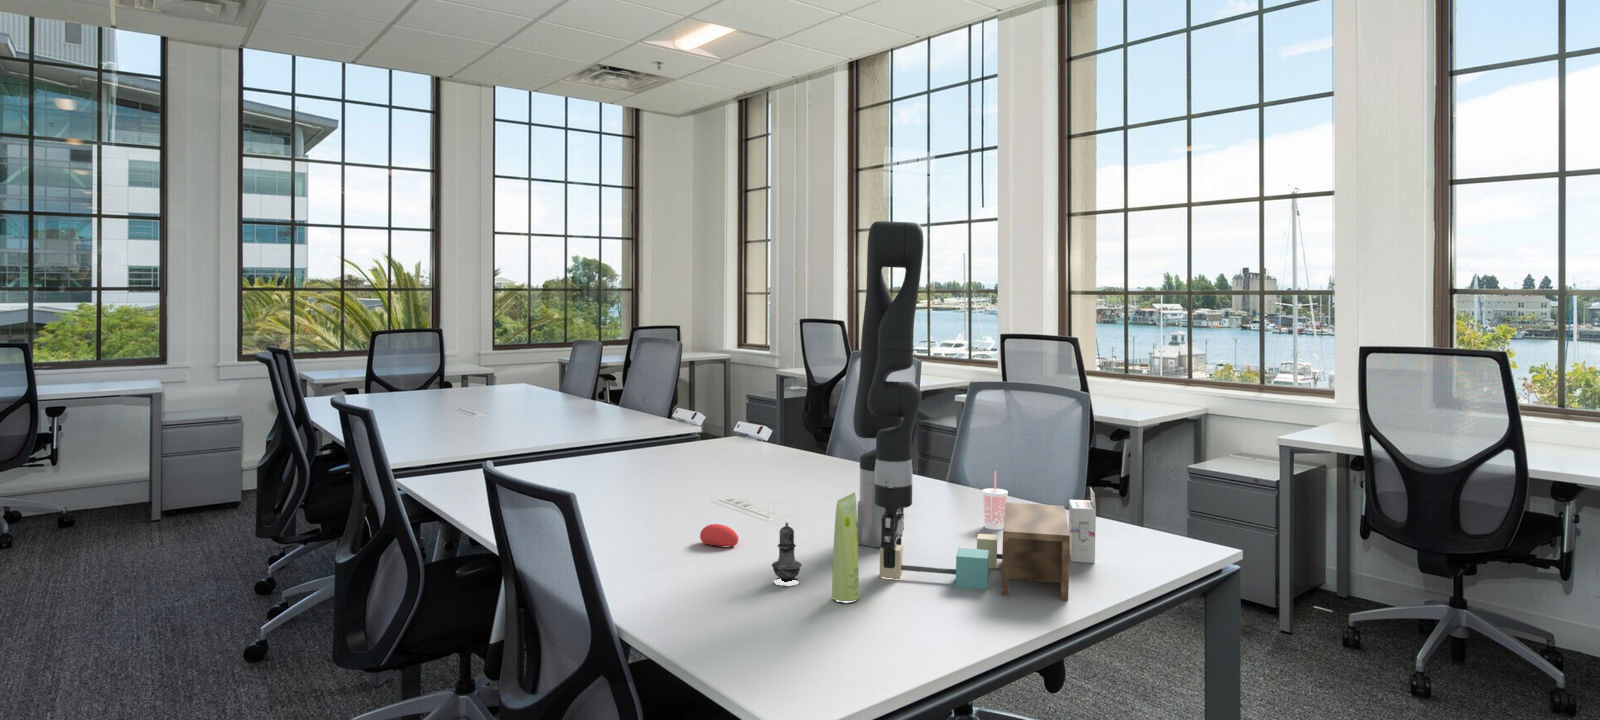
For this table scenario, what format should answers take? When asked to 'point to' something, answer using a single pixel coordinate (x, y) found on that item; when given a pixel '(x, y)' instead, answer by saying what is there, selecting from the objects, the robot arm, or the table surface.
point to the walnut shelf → (1035, 545)
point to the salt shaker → (786, 556)
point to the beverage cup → (994, 506)
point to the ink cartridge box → (1082, 529)
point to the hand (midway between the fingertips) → (892, 561)
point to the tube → (846, 551)
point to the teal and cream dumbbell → (968, 569)
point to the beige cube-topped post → (989, 547)
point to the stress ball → (718, 535)
